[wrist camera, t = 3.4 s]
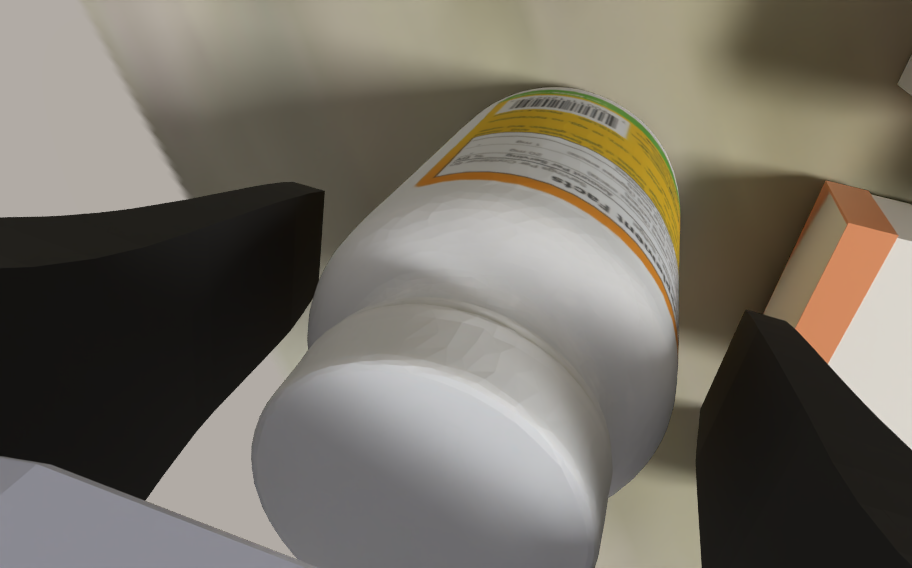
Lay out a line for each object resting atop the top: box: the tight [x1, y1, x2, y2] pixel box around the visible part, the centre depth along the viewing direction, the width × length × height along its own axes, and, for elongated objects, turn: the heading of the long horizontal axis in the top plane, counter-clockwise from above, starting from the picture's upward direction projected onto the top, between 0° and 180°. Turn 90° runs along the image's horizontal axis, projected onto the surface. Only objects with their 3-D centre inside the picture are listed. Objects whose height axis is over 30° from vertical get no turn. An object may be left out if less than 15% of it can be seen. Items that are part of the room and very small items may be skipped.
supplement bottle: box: [251, 87, 680, 568], centre depth 11 cm, size 5×5×10 cm
